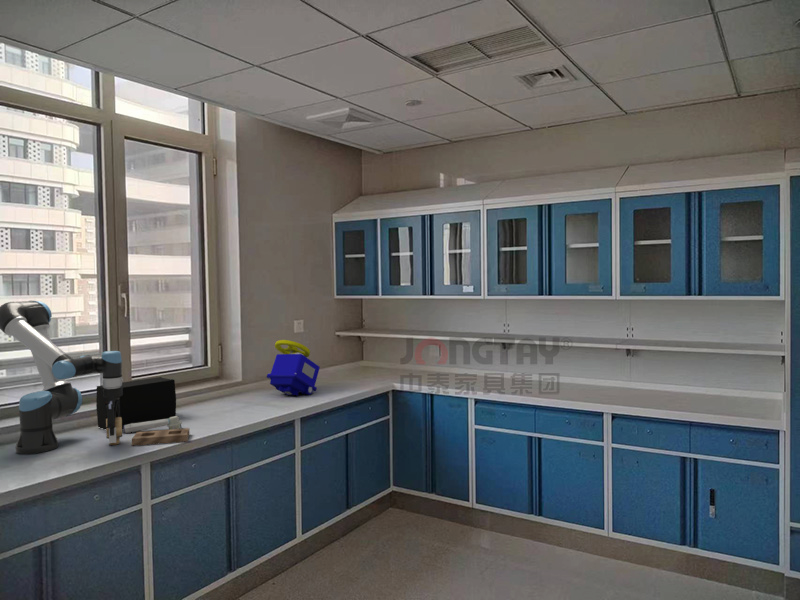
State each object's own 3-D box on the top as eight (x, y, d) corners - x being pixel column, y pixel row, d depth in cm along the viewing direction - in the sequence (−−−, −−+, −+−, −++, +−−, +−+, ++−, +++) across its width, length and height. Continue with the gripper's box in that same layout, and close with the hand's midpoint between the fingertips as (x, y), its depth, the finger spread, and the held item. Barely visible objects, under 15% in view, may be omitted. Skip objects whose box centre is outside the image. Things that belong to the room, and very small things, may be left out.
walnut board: (132, 445, 251) (131, 438, 251) (137, 438, 262) (137, 431, 262) (186, 441, 256) (186, 434, 256) (189, 434, 268) (189, 428, 268)
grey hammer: (124, 423, 275) (180, 412, 281) (126, 437, 276) (183, 426, 282) (122, 426, 270) (179, 414, 276) (124, 440, 271) (181, 428, 277)
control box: (287, 386, 338) (302, 338, 351) (253, 385, 351) (268, 339, 365) (313, 402, 357) (326, 356, 370) (279, 401, 370) (293, 357, 384)
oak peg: (105, 446, 251) (104, 420, 250) (108, 442, 257) (107, 417, 256) (120, 445, 252) (120, 419, 252) (123, 441, 258) (123, 416, 258)
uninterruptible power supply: (176, 419, 299) (175, 379, 298) (109, 433, 273) (107, 390, 272) (160, 414, 310) (159, 376, 309) (93, 427, 284) (92, 386, 283)
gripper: (117, 390, 245) (119, 445, 246) (126, 383, 264) (128, 434, 265) (97, 391, 244) (99, 447, 244) (108, 384, 262) (110, 435, 263)
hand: (114, 440), depth 255 cm, fingers closed on oak peg, 6 cm apart
